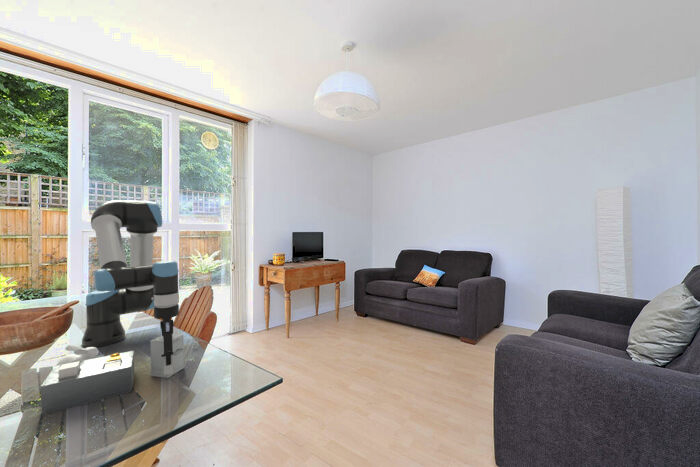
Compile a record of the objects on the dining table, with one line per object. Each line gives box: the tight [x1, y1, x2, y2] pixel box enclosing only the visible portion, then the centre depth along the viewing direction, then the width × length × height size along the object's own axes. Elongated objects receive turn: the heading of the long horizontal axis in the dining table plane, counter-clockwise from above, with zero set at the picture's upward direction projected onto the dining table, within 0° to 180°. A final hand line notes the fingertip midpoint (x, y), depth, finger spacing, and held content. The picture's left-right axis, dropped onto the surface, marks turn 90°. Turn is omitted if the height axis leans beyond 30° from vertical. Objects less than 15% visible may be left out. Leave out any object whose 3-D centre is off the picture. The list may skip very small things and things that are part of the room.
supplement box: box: [149, 333, 185, 379], centre depth 104 cm, size 7×7×13 cm
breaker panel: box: [40, 350, 135, 416], centre depth 92 cm, size 14×20×9 cm
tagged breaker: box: [104, 361, 121, 369], centre depth 93 cm, size 4×4×5 cm
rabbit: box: [55, 344, 99, 366], centre depth 100 cm, size 12×9×12 cm
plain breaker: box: [58, 361, 80, 379], centre depth 88 cm, size 4×4×5 cm
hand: (168, 367), depth 104 cm, fingers closed on supplement box, 10 cm apart
